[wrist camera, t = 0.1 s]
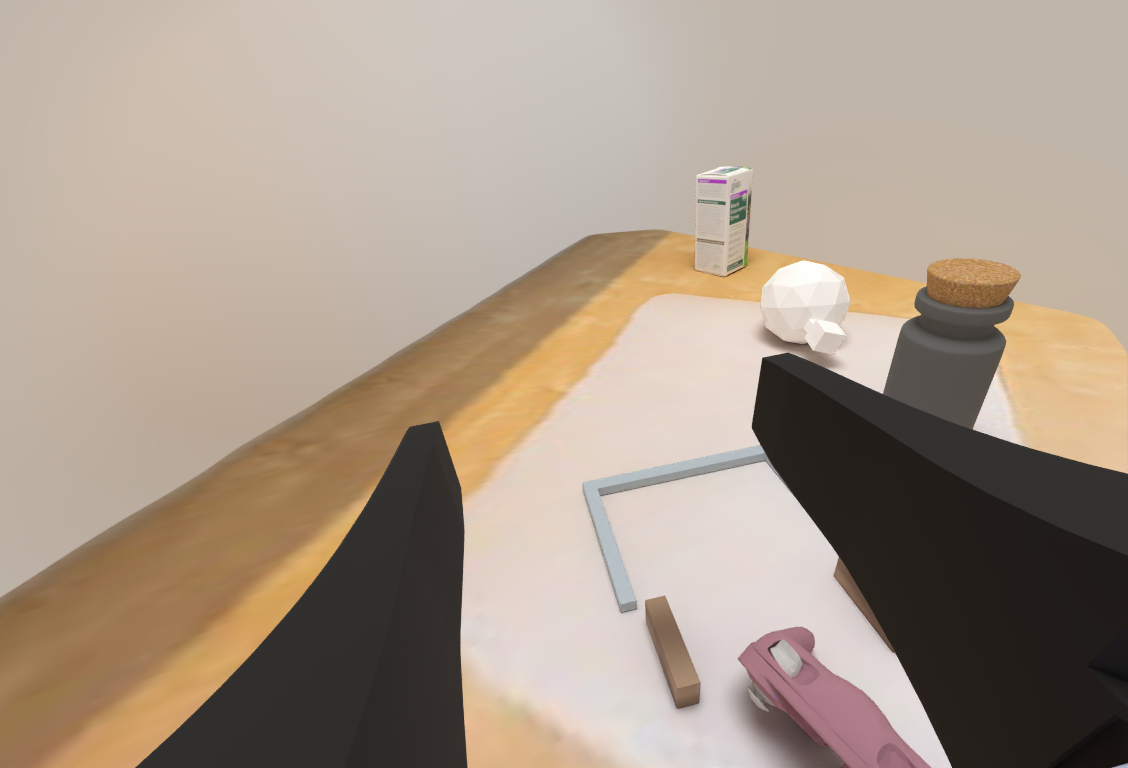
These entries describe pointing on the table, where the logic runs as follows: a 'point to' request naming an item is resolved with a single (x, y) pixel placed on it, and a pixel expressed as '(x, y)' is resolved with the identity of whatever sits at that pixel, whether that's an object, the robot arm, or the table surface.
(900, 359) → the bottle
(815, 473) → the robot arm
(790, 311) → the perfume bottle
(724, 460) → the frame
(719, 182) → the syrup box
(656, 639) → the wooden blocks
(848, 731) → the video game controller
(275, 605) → the table surface
